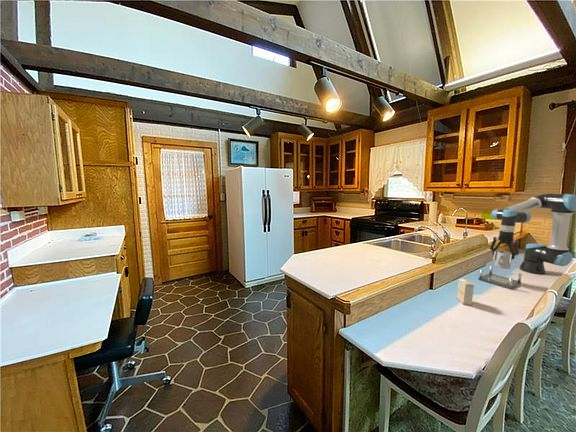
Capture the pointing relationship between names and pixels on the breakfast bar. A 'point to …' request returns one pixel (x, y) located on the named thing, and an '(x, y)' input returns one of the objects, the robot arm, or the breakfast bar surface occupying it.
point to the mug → (503, 259)
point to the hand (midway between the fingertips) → (502, 261)
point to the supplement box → (465, 291)
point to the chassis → (499, 279)
